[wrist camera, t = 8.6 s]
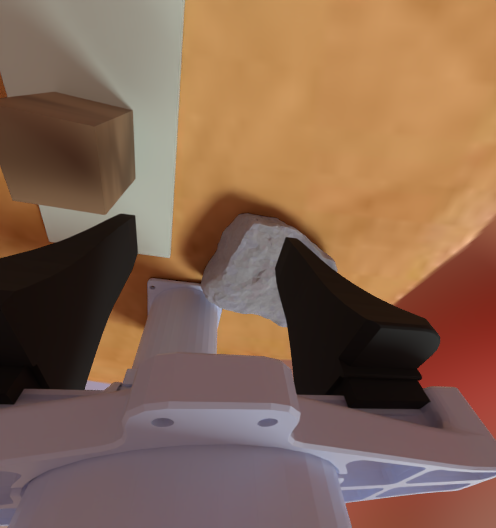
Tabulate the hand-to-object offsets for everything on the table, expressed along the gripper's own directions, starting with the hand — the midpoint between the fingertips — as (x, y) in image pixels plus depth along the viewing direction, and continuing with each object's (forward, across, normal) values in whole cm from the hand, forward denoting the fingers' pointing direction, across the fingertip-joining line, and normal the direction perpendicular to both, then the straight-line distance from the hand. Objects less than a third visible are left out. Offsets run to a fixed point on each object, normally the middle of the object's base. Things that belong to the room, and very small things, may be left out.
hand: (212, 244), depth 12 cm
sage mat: (+9, +8, -1) cm, 13 cm away
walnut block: (+9, +8, -1) cm, 12 cm away
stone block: (+10, -6, +8) cm, 14 cm away
